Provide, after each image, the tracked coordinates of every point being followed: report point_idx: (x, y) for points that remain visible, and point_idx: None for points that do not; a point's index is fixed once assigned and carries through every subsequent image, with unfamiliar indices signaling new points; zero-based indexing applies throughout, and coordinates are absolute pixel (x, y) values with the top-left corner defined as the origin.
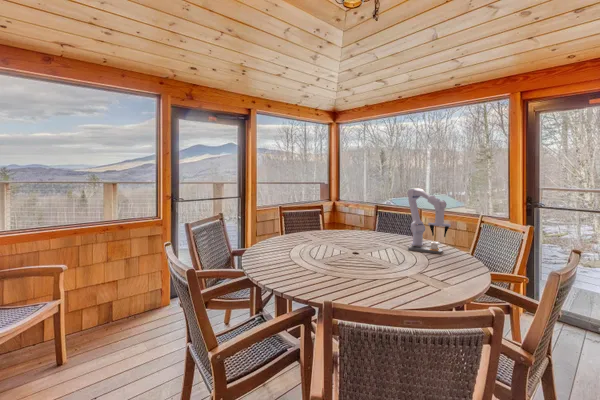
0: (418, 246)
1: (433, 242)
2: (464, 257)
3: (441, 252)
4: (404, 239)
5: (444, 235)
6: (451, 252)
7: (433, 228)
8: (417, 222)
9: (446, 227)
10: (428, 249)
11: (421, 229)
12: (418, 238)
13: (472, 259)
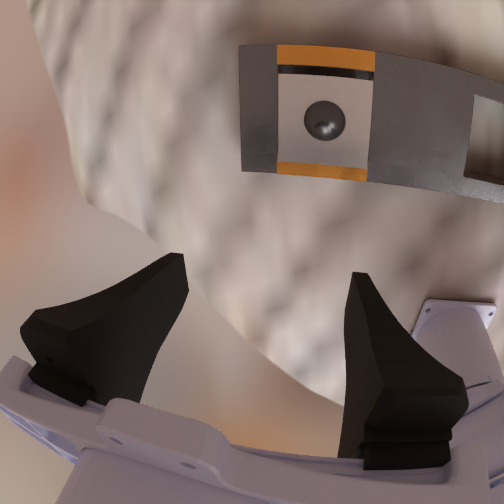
0: (484, 181)
1: (342, 107)
2: (80, 72)
3: (242, 45)
4: None
5: (166, 261)
6: (177, 175)
7: (357, 398)
8: (495, 500)
9: (48, 351)
10: (388, 73)
11: (452, 441)
12: (467, 349)
13: (43, 58)
